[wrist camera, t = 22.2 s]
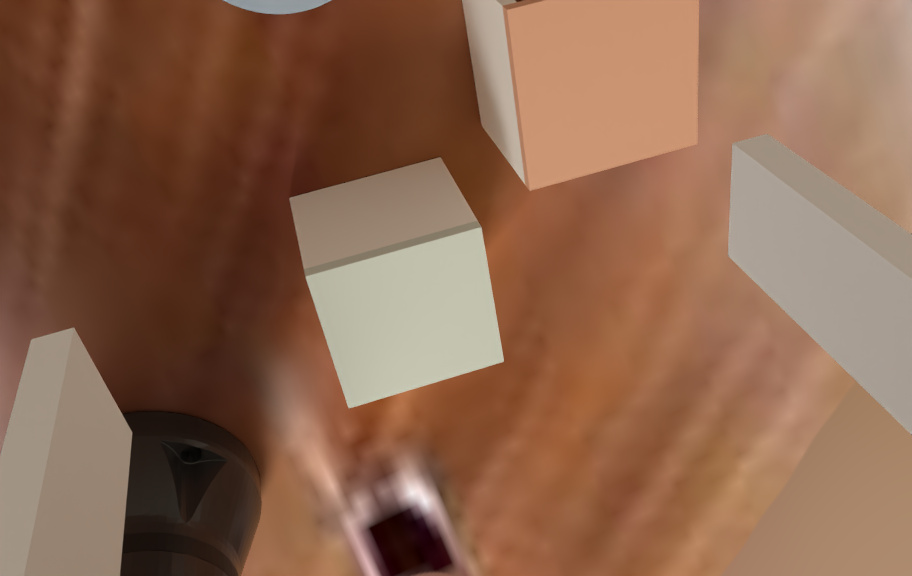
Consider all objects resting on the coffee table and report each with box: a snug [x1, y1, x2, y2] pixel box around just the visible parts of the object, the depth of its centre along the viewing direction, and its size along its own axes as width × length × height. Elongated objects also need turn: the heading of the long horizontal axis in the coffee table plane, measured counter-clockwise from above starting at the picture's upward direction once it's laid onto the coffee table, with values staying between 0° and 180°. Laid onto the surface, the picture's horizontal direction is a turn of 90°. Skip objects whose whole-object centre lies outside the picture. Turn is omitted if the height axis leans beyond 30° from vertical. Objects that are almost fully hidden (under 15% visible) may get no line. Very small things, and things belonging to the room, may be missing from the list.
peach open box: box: [462, 0, 699, 191], centre depth 43 cm, size 9×9×9 cm
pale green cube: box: [289, 157, 504, 408], centre depth 48 cm, size 9×9×9 cm
